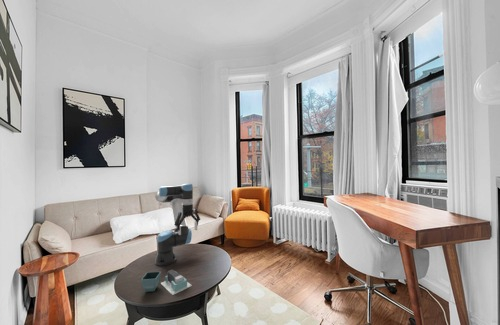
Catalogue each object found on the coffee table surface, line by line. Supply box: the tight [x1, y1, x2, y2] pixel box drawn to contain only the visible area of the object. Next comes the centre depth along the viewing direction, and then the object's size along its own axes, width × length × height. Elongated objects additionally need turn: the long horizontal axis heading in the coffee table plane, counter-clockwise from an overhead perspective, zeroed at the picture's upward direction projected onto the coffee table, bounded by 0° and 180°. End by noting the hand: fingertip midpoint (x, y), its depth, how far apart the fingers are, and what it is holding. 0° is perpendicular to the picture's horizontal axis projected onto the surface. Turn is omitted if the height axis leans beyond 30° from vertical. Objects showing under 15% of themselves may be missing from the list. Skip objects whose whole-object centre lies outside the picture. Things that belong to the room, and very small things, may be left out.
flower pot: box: [140, 271, 162, 293], centre depth 131 cm, size 9×9×9 cm
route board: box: [160, 271, 193, 296], centre depth 135 cm, size 17×13×4 cm
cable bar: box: [167, 269, 184, 284], centre depth 136 cm, size 14×4×6 cm, turn 46°
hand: (188, 232), depth 157 cm, fingers open, 13 cm apart
